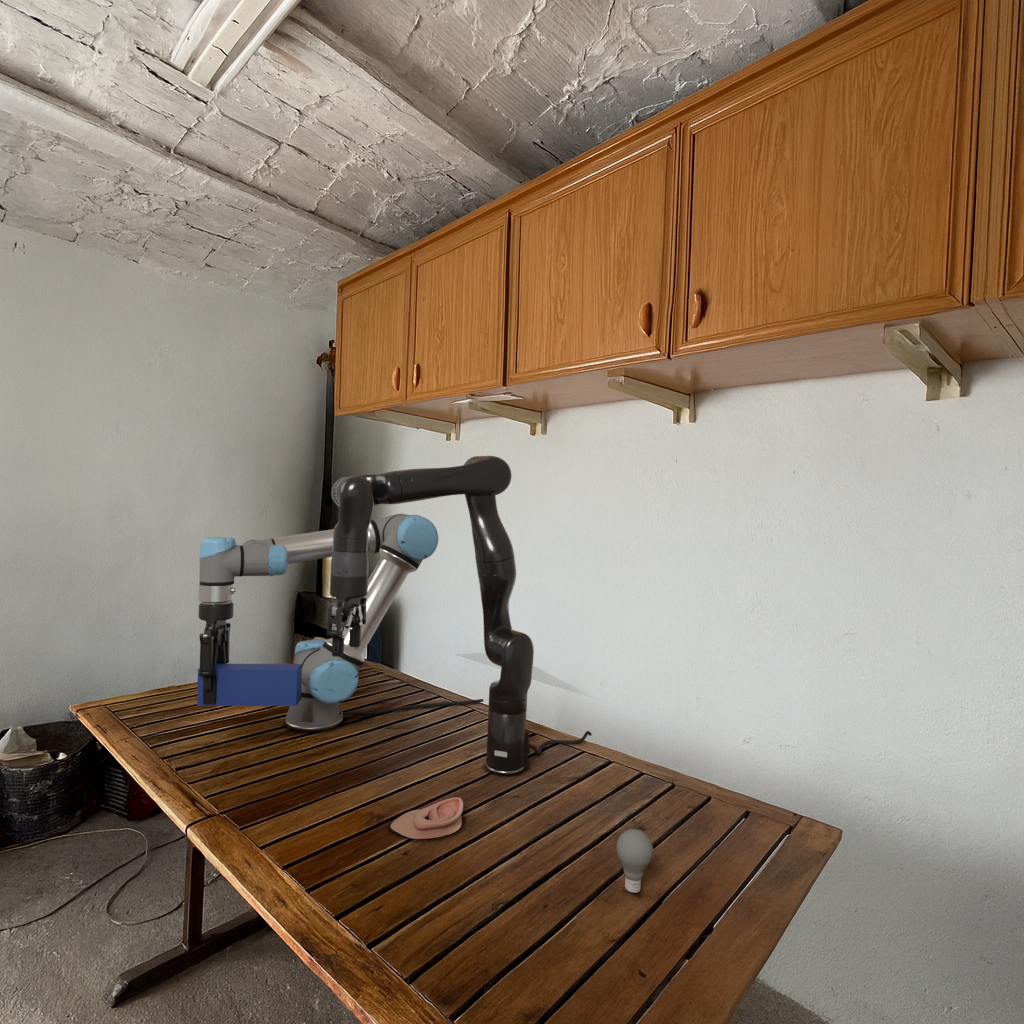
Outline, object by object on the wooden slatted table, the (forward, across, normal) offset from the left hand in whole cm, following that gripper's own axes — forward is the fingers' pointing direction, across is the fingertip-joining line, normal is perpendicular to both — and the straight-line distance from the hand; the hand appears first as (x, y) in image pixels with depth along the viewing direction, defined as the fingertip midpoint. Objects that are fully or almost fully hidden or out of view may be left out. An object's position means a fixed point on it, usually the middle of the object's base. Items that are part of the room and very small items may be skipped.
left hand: (214, 699), depth 151 cm
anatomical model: (+14, -32, -52) cm, 63 cm away
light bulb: (+14, -54, -87) cm, 103 cm away
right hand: (-18, -24, -34) cm, 45 cm away
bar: (+1, 0, -8) cm, 8 cm away
